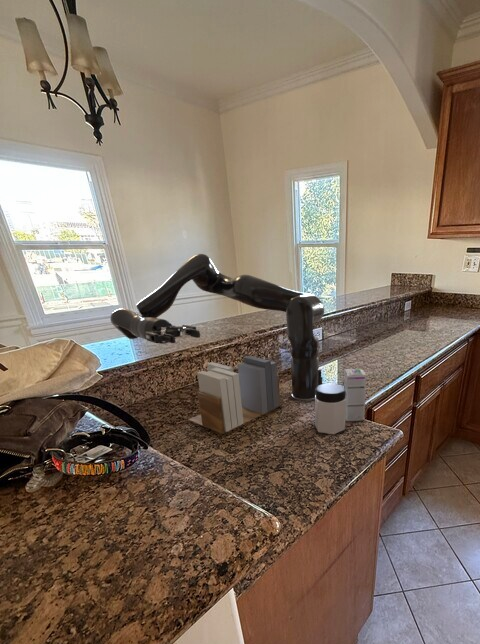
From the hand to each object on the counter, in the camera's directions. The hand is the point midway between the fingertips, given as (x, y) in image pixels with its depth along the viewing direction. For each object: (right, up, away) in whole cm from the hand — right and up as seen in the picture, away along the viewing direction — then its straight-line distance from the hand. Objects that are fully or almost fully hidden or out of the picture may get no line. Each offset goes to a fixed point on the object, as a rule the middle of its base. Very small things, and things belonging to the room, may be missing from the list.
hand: (186, 336), depth 104 cm
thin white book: (+11, -23, +3) cm, 25 cm away
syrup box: (+50, -24, +3) cm, 55 cm away
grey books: (+20, -20, +7) cm, 30 cm away
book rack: (+14, -23, +4) cm, 27 cm away
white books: (+12, -26, -4) cm, 29 cm away
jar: (+42, -27, -3) cm, 50 cm away
